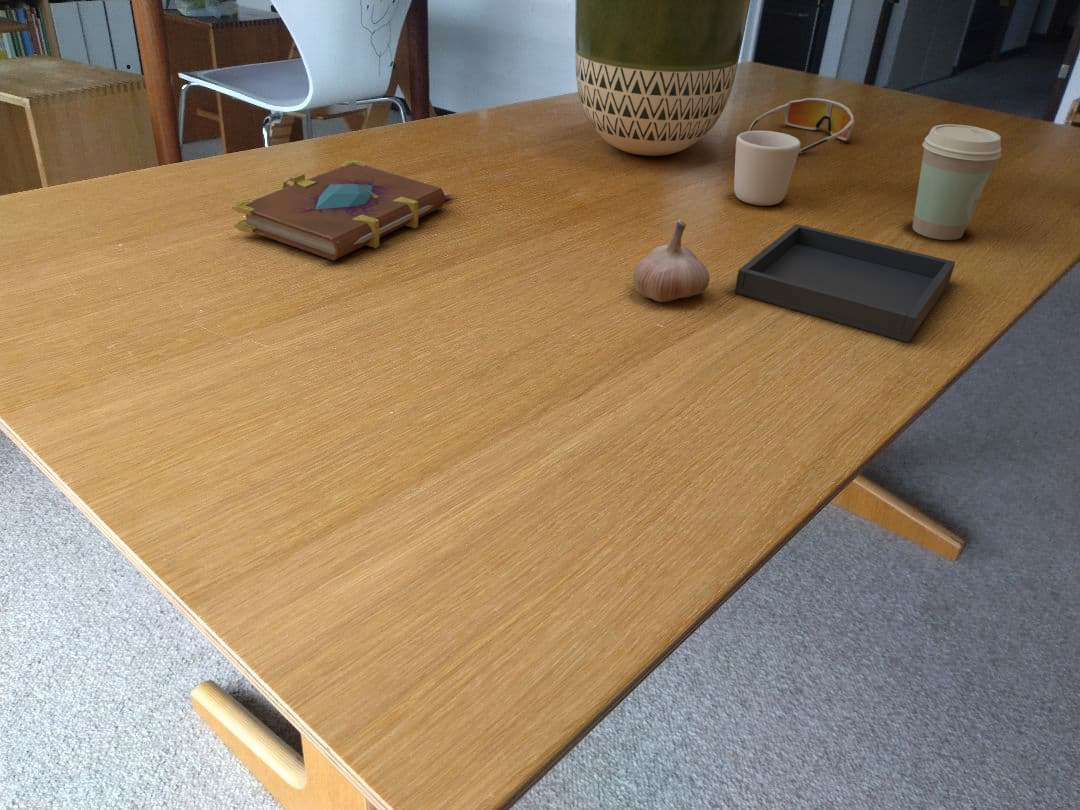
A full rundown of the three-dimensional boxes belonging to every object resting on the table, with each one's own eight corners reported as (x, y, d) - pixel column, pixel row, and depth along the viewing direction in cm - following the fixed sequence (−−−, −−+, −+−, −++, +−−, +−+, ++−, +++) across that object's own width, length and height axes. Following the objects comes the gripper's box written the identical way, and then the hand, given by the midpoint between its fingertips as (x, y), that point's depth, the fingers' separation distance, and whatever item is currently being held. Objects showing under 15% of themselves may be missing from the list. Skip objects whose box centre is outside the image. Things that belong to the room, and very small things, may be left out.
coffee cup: (969, 250, 102) (1002, 147, 96) (894, 234, 106) (921, 134, 99) (978, 228, 109) (1009, 130, 102) (907, 214, 112) (932, 118, 106)
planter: (680, 124, 146) (701, -59, 131) (760, 168, 127) (796, -40, 112) (542, 133, 138) (549, -60, 124) (606, 182, 119) (623, -40, 105)
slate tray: (948, 284, 94) (955, 261, 93) (908, 342, 82) (915, 317, 81) (791, 244, 102) (795, 223, 101) (734, 293, 90) (738, 269, 89)
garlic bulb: (713, 289, 91) (725, 215, 87) (694, 317, 85) (705, 239, 81) (644, 274, 93) (652, 202, 89) (621, 301, 88) (628, 224, 83)
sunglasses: (865, 140, 140) (870, 109, 137) (807, 170, 133) (811, 138, 130) (792, 120, 149) (795, 91, 146) (734, 147, 142) (736, 117, 139)
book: (467, 207, 111) (468, 169, 108) (338, 274, 93) (335, 229, 90) (365, 176, 117) (364, 139, 114) (224, 233, 99) (219, 190, 96)
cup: (745, 180, 122) (755, 122, 117) (802, 191, 118) (814, 132, 114) (718, 202, 114) (728, 140, 109) (778, 215, 110) (790, 151, 106)
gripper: (1098, -202, 99) (1041, 4, 109) (873, -207, 100) (838, -2, 110) (1133, -211, 92) (1069, 10, 102) (892, -216, 93) (852, 3, 103)
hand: (949, 4), depth 106 cm, fingers open, 13 cm apart
